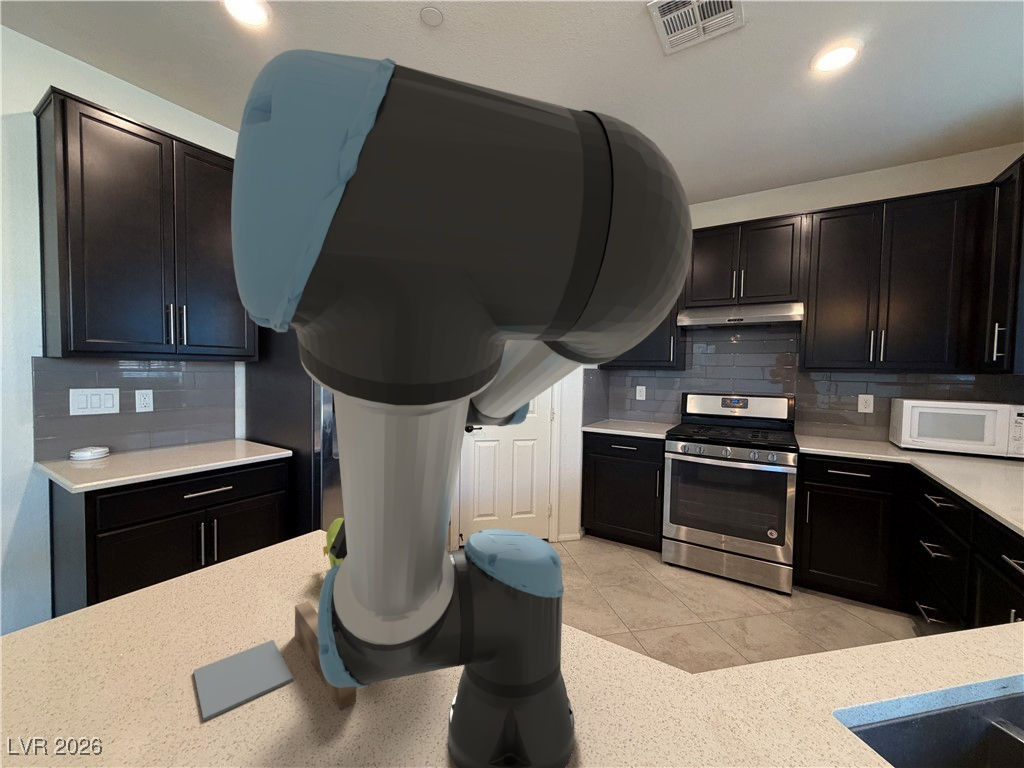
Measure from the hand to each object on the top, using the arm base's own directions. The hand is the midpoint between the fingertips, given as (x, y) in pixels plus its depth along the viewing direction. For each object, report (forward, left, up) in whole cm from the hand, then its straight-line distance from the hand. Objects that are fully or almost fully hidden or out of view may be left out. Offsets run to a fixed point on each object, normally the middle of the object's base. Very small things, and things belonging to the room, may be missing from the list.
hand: (395, 582), depth 66 cm
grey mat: (+6, +20, -9) cm, 23 cm away
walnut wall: (+1, +11, -9) cm, 14 cm away
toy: (+22, -1, -9) cm, 24 cm away
